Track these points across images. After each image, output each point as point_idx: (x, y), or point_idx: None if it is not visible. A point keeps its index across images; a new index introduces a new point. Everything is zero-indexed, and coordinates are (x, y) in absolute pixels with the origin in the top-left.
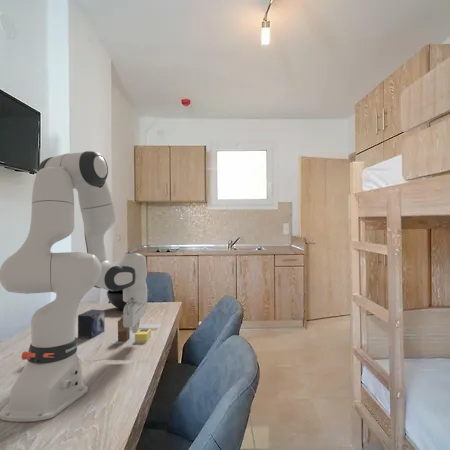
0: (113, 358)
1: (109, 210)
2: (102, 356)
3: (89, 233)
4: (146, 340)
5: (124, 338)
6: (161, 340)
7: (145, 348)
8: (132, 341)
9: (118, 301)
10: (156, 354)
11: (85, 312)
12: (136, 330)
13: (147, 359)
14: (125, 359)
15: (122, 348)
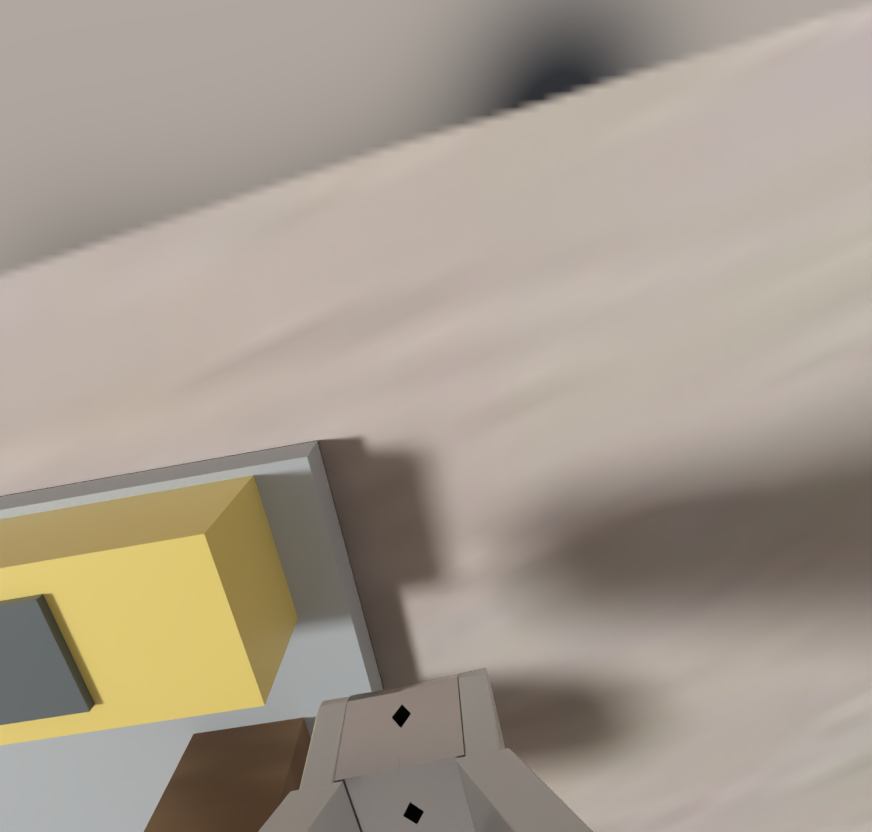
0: (757, 618)
1: None
2: (704, 739)
3: None
4: (246, 485)
5: (301, 774)
6: (13, 335)
7: (388, 417)
8: (288, 656)
9: None
10: (588, 150)
11: None
12: (495, 708)
13: (788, 200)
14: (787, 483)
15: (446, 670)
